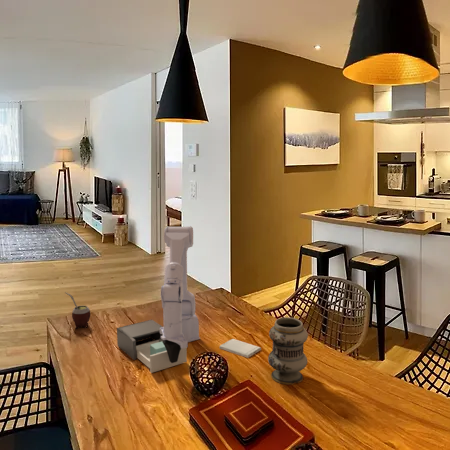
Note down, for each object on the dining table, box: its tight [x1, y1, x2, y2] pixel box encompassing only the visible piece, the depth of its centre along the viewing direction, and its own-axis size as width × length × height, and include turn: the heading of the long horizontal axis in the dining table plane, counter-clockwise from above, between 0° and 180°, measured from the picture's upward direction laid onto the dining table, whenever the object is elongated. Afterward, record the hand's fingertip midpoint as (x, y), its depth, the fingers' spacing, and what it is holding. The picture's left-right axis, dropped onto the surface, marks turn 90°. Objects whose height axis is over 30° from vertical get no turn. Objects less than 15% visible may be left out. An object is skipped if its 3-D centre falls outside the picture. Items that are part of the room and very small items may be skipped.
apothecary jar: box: [267, 316, 309, 386], centre depth 137 cm, size 12×12×18 cm
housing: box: [116, 319, 164, 361], centre depth 159 cm, size 14×14×7 cm
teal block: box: [150, 342, 167, 355], centre depth 149 cm, size 4×4×4 cm
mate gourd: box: [64, 291, 91, 330], centre depth 178 cm, size 8×8×15 cm
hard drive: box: [219, 338, 262, 359], centre depth 158 cm, size 2×8×12 cm
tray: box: [136, 339, 188, 374], centre depth 151 cm, size 13×17×6 cm
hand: (173, 361), depth 142 cm, fingers closed
